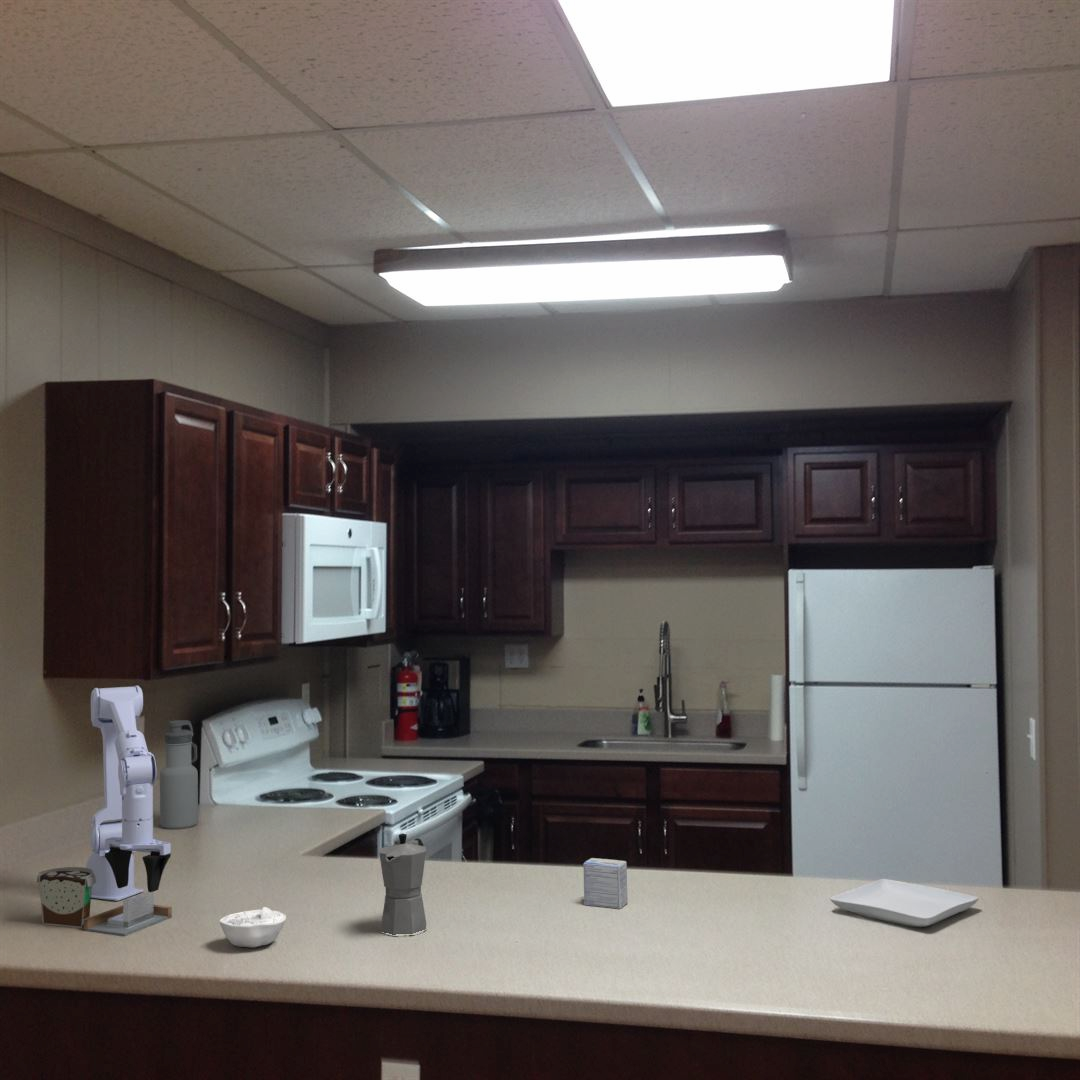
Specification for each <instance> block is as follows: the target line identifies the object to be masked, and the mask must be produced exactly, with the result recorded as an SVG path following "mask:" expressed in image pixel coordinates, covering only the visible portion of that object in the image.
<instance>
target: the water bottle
mask: <svg viewBox="0 0 1080 1080" xmlns="http://www.w3.org/2000/svg"><path fill="white" fill-rule="evenodd" d="M168 727H169V730H168V731H166V732H165V733H164V742H165V743H164V745H165V767H163V768H162V769H161V771H160V772H159V825H160V827H161V828H164V829H167V830H182V829H183V830H184V829H189V828H192V827H195V826H196V825H197V824H198V822H199V779H198V778H199V775H198V774H199V773H198V769H197V768H196V767H195V766H194V765H192V763H195V762H197V759H198V746H197V744H196V743H193V741H192V740H193V736H194V730H193V729H194V728H193V726H192V723H191V721H190V720H186V719H185V720H183V719H182V720H180V719H178V720H177V719H175V720H170V721H169V722H168ZM192 748H193V759H192Z"/></svg>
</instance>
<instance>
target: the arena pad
mask: <svg viewBox="0 0 1080 1080" xmlns="http://www.w3.org/2000/svg"><path fill="white" fill-rule="evenodd" d="M168 919H169V918H168V916H161V915H154V918H152V919H150V920H147V921H145V922H142V923H140V924H137V925H135V926H132V927H130V928H124V927H116V926H109V925H108V921H107V922H104V923H101V924H99V925H96V926H94V927H91V928H88V931H87V932H92V933H101V934H107V935H115V936H116V935H117V936H121V937H126V936H127V935H131V934H133V933H135V932H139V931H141V930H142V929H145V928H147V927H151V926H153V925H155V924H159V923H161V922H164V921H165V920H168Z"/></svg>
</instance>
